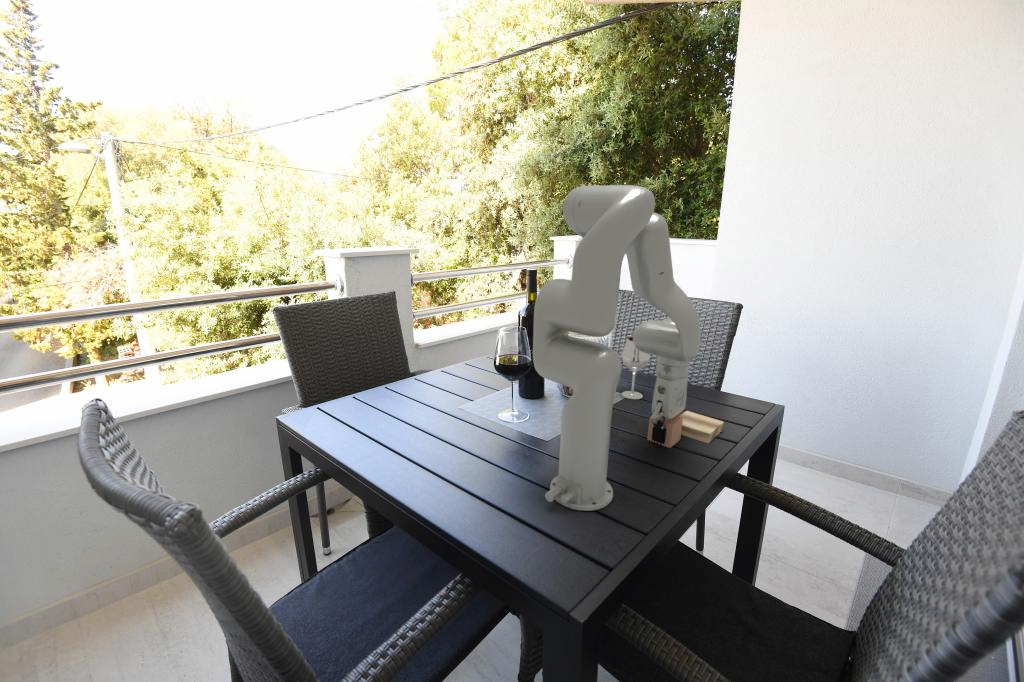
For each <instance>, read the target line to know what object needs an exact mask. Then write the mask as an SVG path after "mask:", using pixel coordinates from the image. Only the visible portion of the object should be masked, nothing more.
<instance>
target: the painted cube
mask: <svg viewBox="0 0 1024 682" xmlns="http://www.w3.org/2000/svg"><path fill="white" fill-rule="evenodd" d="M660 415H663V416H664V414H663V413H660ZM679 416H680V415H679ZM679 416H675V417H674V418H672V419H670V420H669V419H667V422H666V426H665V428H666V436H665V443H664V444H661V443H658V442H655V441H653V440H652V431H653V426H652V425H653V423H652V420H651V416H650V417H649V420H648V428H647V429H648V431H647V440H646V441H649V440H650V441H649V442H651V441H652V443H654V442H655V444H657V443H658V444H657V445H660V444H661V445H660V446H663V447H666V448H669V449H671V448H672V447H673V446H674V445H676V444H677V443H678V442H680V441H681V438H682V435H681V430H682V422H683V418H682V417H679ZM659 420H661V422H663V418H660V417H659Z"/></svg>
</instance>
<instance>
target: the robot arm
mask: <svg viewBox="0 0 1024 682" xmlns="http://www.w3.org/2000/svg"><path fill="white" fill-rule="evenodd" d="M655 204H656V200H655V196H654V193H653V192H652V191H651V190H650V189H648V188H646V187H644V186H640V185H633V184H614V185H613V184H609V185H608V184H607V185H581V186H578V187H575V188H573V189H572V190H571V191H569V192H568V194H566V197H565V198H564V202H563V205H562V206H563V208H562V213H563V218H564V221H565V223H566V225H567V226H568V227H569V228H570V230H571V231H573V232H574V233H575V234H576V235H577V236H579V237H581V240H580V242H579V244H578V245H577V247H576V249H575V251H574V255H573V259H572V269H571V279H565V278H553V279H551V280H549V281H547V282H546V283H545V284H544V285H543V286H542V287H541V288H540V290H539V292H538V293H537V295H536V296H537V297H536V299H535V302H534V308H533V309H534V311H533V331H532V332H533V336H532V337H533V338H532V360H533V366H534V369H535V371H536V372H537V374H538V375H539V376H540V377H542V378H544V379H545V380H548V381H551V382H555V383H557V384H560V385H563V386H565V387H567V388H570V389H572V390H573V393H572V394H571V396H570V397H569V398H568V399H567V400H566V401H565V403H564V405H563V407H562V411H561V417H560V418H561V420H560V421H561V425H560V440H559V458H558V459H559V460H558V462H559V463H558V475H556V476H555V477H554V478H553V479H551V482H550V485H549V490H548V491H547V492H545V493H544V498H545V500H546V501H548V503H552V502H553V501H556V502H557V503H558V504H560V505H562V506H564V507H565V508H569V509H571V510H577V511H583V512H585V511H588V512H590V511H598V510H601V509H603V508H605V507H606V506H608V505H609V504H610V503H611V502H612V501H613V498H614V490H613V487H612V486H611V484H610V483H609V481H607V476H608V463H609V462H608V461H609V453H610V452H609V451H610V443H611V441H610V440H611V427H612V415H613V409H614V408H613V407H614V403H615V402H614V401H615V400H614V399H615V395H616V392H617V388H618V385H619V381H620V378H621V374H622V367H623V366H622V360H621V357H620V356H619V354H618V353H617V352H616V351H615V350H614V349H613V348H611V347H609V346H607V345H604V344H603V343H599V342H595V341H591V340H588V339H584V338H578V337H575V336H570V335H569V333H570V332H571V333H574V334H578V335H583V336H588V337H593V338H601V337H605V336H608V335H609V334H611V333H612V331H613V330H614V328H615V326H616V323H617V318H618V317H617V316H618V311H619V310H618V309H619V308H618V307H619V299H620V298H619V297H620V283H621V275H622V274H621V273H622V266H623V265H622V264H623V261H624V258H625V255H626V258H627V264H628V271H629V276H630V282H631V283H630V284H631V288H632V291H633V292H634V294H636V295H637V296H638V297H640V298H641V299H642V300H644V301H645V302H646V303H648V304H650V305H651V306H653V307H654V308H656V309H658V310H660V311H661V312H662V313H663V314H664V315H666V316H667V318H664V319H663V320H647V321H644V322H641V323H640V324H639V325H638V326H637V327H636V328H635V330H634V331H633V334H632V337H633V343H634V345H635V347H636V348H637V349H638V350H640V351H641V352H644V353H647V354H650V355H651V356H656V364H655V375H656V379H655V383H654V389H653V396H652V402H651V403H652V404H651V414H652V415H651V416H650V417H651V420H652V423H653V425H652V426H653V431H652V440H653V441H655V442H658V443H661V444H664V443H665V436H666V428H665V426H666V422H667V419H669V420H670V419H672V418H674V417H675V416H680V414H682V412H683V411H685V409H686V405H687V404H686V403H687V391H688V378H689V372H690V370H689V369H690V363H691V361H692V360H694V359H695V358H696V357H697V356H698V354H699V351H700V348H701V337H702V336H701V324H700V317H699V313H698V310H697V309H696V307H695V305H694V303H693V302H692V300H691V299H690V298H689V296H688V295H687V293H685V291H684V290H683V289H682V288H681V287H680V286H679V285H678V284H677V283H676V282H675V280H674V279H675V278H674V270H673V261H672V252H671V250H672V249H671V242H670V234H669V233H670V232H669V225H668V223H667V220H666V219H665V217H663V215H661V214H659V213H657V212H655V207H656V205H655ZM660 413H663V414H664V416H663V415H660ZM659 417H660V418H663V422H661V420H659Z"/></svg>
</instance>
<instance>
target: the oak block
mask: <svg viewBox="0 0 1024 682" xmlns="http://www.w3.org/2000/svg"><path fill="white" fill-rule="evenodd" d="M679 417H682V418H683V422H682V430H681V436H684V437H687V438H690V439H693V440H697V441H700V442H702V443H705V444H710V443H711V442H712V441H713V440H714V439H715V438H716V437H718V436H719V434H721V433H722V432H723V430H724V429H723V428H724V424H725V421H722V420H719V419H716V418H713V417H710V416H706V415H703V414H699V413H696V412H694V411H693V412H692V411H690V410H686V411H685V410H684V412H683V413H680V414H679ZM720 432H721V433H720Z"/></svg>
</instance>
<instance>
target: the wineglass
mask: <svg viewBox="0 0 1024 682" xmlns="http://www.w3.org/2000/svg"><path fill="white" fill-rule="evenodd" d="M650 355H651V354H647V353H644V352H641V351H640V350H638V349H637V348H636V347H635V345H634V343H633V336H629V337H628V338H627V340H626V341H625V345H624V347H623V350H622V355H621V359H622V360H621V361H622V362H623V364H624V365H625V366H626V367H627V368H628V369H629V370H630V372H631V373H632V379H631V388H630V389H631V390H624V391H623V392H622V393H621V396H622V397H623V398H626V399H628V400H640V399H643V397H644V395H643V394H642V393H640V392H638V391H635V382H636V374H637V373H638V372H640V371H641V370H643V369H644V368H645V367H646V366H647V365H648V364H650V360H651V356H650Z"/></svg>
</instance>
